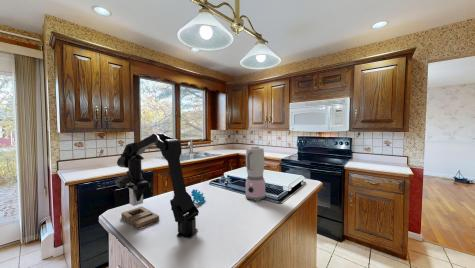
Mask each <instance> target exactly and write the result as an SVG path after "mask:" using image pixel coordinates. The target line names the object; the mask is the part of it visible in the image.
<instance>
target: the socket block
mask: <svg viewBox="0 0 475 268" xmlns="http://www.w3.org/2000/svg"><path fill="white" fill-rule="evenodd" d="M121 219H123V220H124V221H125V222H126V223H127V224H129V225H130V226H132V227H133V228H135V230H141V229H143V228H145V227H148V226H149V225H153V224H156V223H157V222H160V215H159V214H157V213H155V212H153V211H151V210H149V209H147V208H146V207H144V206H139V207H136V208H133V209H129V210H127V211H123V212H121Z"/></svg>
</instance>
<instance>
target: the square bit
mask: <svg viewBox="0 0 475 268" xmlns="http://www.w3.org/2000/svg"><path fill="white" fill-rule="evenodd" d="M133 188H134V187H131V188H128V190H129V191H128V192H129V194H128V195H129V205H131V206H133V207H135V206H138V205H141V204H144V193H143V194H142V196H141V199H140V201H137V199H136V194H135V191H134V190H133Z"/></svg>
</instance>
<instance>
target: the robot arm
mask: <svg viewBox="0 0 475 268" xmlns="http://www.w3.org/2000/svg"><path fill="white" fill-rule="evenodd" d="M154 145H155V147H156V148H157V149H159V150H160V153H161V155H162V157H163V158H164V160H166V162H167V164H168V165H167V166H168V171H169V175H170V180H171V185H172V190H173V198H172V199H170V200H169V203H170V207H171V209H170V210H171V211H172V213H173V217H174V221H175V222H176V223H177V232H178V233H177V234H176V237H178V238H179V237H180V238H185V239H191V238H192V237H193V236H194V235H195V234H196V233H197V232H198V231H199V229H198V228H197V221H196V219H197V218H196V217H198V216H199V213H200V211H199V210H198V208H197V206H196V205H195V202H193V197H192V195H191V194H189V192H187V188H186V183H185V177H184V174H183V169H182V165H181V159H180V158H181V155H182V143H181V141H180V140H178V139H177V138H174V137H172V136H169V135H167V134H165V133H163V132H154V133H152V134H151V135H149V136H147V137H144V138H143V139H141V140H140V141H136V142H132V143H131V142H130V143H126V145H125V147H124V148H123V149H124V150H123V152H122V153H121V154H120V156H119V157H118V158H117V161H116V164H117V166H118V167H120V168H125V169H127V171H126V172H125V173H126V174H125V175H122V176H120V177H119V178H117V179H115V180H114V183H115V184H116V186H117V187H118V188H123V187H124V186H125V187H126V188H128V189H129V188H131V187H134V188H133V190H134V191H135V194H136V199H137V201H140V199H141V196H142V194H143V195H144V192H145V191H146V189H148V188H150V187H151V182H149V181H147V180H145V179H144V178H143V175H142V173H144V170H143V167H142V160H144V159H145V158H144V157H143V156H142V154H143V153H145V151H146V149H148V148H150V147H152V146H154Z"/></svg>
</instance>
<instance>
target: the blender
mask: <svg viewBox="0 0 475 268" xmlns="http://www.w3.org/2000/svg"><path fill="white" fill-rule="evenodd" d="M245 168H246V174H247V176H246V179H245V199H246V200H249V199H250V200H255V202H260V200H262V199H265V198H266V197H265V196H266V179H265V178H264V169H265V150H264V148H262V147H260V146H258V145H256V146H255V145H253V146H252V145H251V146H250V147H249V148H245Z"/></svg>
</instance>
